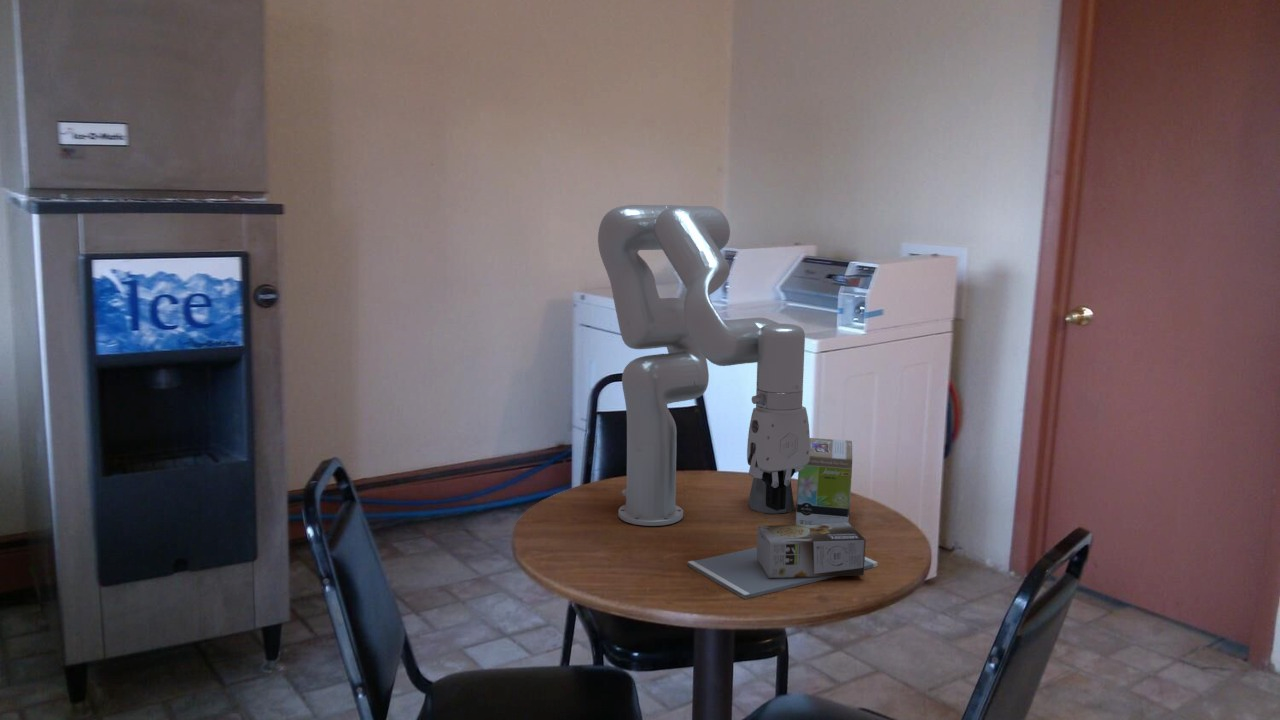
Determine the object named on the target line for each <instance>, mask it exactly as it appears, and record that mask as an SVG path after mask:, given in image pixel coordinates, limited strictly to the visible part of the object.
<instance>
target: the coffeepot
mask: <svg viewBox="0 0 1280 720" xmlns="http://www.w3.org/2000/svg"><path fill="white" fill-rule="evenodd" d="M760 470H762V469H760ZM752 478H753V479H752V482H751V489H750V493H749V498H748V503H747V505H748V506H749V509H751V510H753V511H754V512H756V513H761V514H766V513H767V515H769V514H770V515H780V514H779V513H783V514H787V513H789V511H790V510H791V511H793V509H795V504H794V496H793V488H792V480H791V479H790V484H789V485H788V486H786V502H785V509H783V510H781V509H780V510H778V511H776V510H774V509H771V508H769V507H767V506H766V484H764V483H763V481H762V479H760V478H754V477H752ZM791 511H790V512H791ZM786 512H787V513H786Z"/></svg>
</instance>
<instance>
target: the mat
mask: <svg viewBox="0 0 1280 720" xmlns="http://www.w3.org/2000/svg"><path fill="white" fill-rule="evenodd" d="M878 564H879V563H878V561H875V560H873V559H871V558H868V557H866V556H865V562H864V571H865V570H869V569H872V568H877V567H878ZM687 567H689V568H691V569H693V570H695V571H696V572H697V573H699V574H701V575H703V576H704V577H706V578H708V579H710V580H711V581H713V582H714V583H716V584H718V585H719V586H721V587H723V588H725V589H727V590H728V591H730V592H731V593H733V594H736V595H737V596H738V597H740V598H742V599H743V600H748V599H751V598H755V597H759V596H763V595H767V594H771V593H775V592H780V591H784V590H787V589H791V588H792V589H793V588H796V587H799V586H805V585H808V584H812V583H816V582H819V581H824V580H829V579H831V578H835V577H838V576H821V577H790V578H768V576H767V574H766V573H765V571H764V570H763V568H762V566H761V565H760V563H759V562H758V560H757V546H756V547H753V548H748V549H742V550H739V551H733V552H730V553H725V554H720V555H715V556H712V557H711V556H710V557H706V558H700V559H697V560H689V561H687Z"/></svg>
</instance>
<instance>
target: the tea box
mask: <svg viewBox="0 0 1280 720" xmlns="http://www.w3.org/2000/svg"><path fill="white" fill-rule="evenodd" d="M797 473H798V474H797V492H796V505H795V506H796V507H795V508H796V512H795V525H804V524H835V523H849V521H850V520H849V518H850V517H849V516H850V505H851V504H850V503H851V493H852V491H851V490H852V478H853V477H852V475H853V442H852V440H845V439H834V438H833V439H831V438H817V437H810V459H809V463H808V464H807V465H805V466H804V468H803V470H801V471H798V472H797Z"/></svg>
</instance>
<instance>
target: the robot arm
mask: <svg viewBox="0 0 1280 720" xmlns="http://www.w3.org/2000/svg"><path fill="white" fill-rule="evenodd" d="M730 236H731V227H730V223H729V221H728V219H727V217H726V216H725V214H724V213H723V212H722V211H721V210H720V209H718V208H717V207H714V206H708V205H702V206H701V205H694V206H692V205H690V206H688V205H678V204H677V205H673V204H671V205H670V204H656V205H655V204H631V205H630V204H629V205H622V206H618V207H617V206H616V207H615V208H612V209H611V210H609V211H608V212H606V214H604V216H603V217H602V219H601V221H600V224H599V227H598V233H597V244H598V245H597V246H598V252H599V254H600V258H601V260H602V263H603V266H604V269H605V271H606V274H607V277H608V279H609V282H610V288H611V292H612V293H611V294H612V298H613V303H614V308H615V313H616V318H617V324H618V328H619V332H620V335H621V338H622V341H623V343H624V345H626V347H628V348H630V349H633V350H648V349H649V350H650V349H660V348H666V349H667V353H658V354H648V355H643V356H640V357H638V358H634V359H632V360H631V361H629V363H627V365H626V366H625V367H624V370H623V371H622V376H621V383H622V385H621V386H622V390H623V391H622V392H623V396H624V402H625V411H626V488H623V489H622V490H621V495H622V496H624V497H625V504H623V505H621V506H620V507H619V508H618V513H617V514H618V517H619V518H620V520H622V521H623V522H625V523H628V524H632V525H636V526H644V527H659V526H660V527H661V526H669V525H672V524H675V523H678V522H680V521H681V520H683V517H684V510H683V508H682V507H680V506H679V505H677V504H676V495H677V494H676V491H677V490H676V489H677V488H676V487H677V483H676V482H677V443H678V442H677V425H676V421H675V419H674V417H673V415H672V413H671V412H670V409H669V408H668V405H669V404H673V403H679V402H680V403H681V402H685V401H692V400H695V399H698V398H700V397H702V395H704V393H705V392H706V391H707V388H708V386H709V378H710V375H709V368H708V367H709V366H708V362H707V361H709V362H710V363H712V364H713V365H716V366H719V367H728V366H729V367H730V366H734V365H745V364H754V363H756V364H757V365H756V393H755V395H752V396H751V403H752V404H753V405H755V407H753V409H752V413H751V415H750V416H751V417H750V422H749V427H748V435H747V436H748V437H747V447H746V460H747V465H749V471H748V476H749V477H751V478H753V477H754V478H760V479H762V481H763V483H764V484H766V506H767V507H769V508H771V509H774V510H776V511H778V510H780V509H781V510H783V509H785V502H786V486H788V485H789V484H790V479H791V478H792V477H793V476H794V475H795V474H796V473H798V471H801V470H803V468H804V466H805V465H807V464H808V463H809V459H810V438H811V437H810V422H809V417H808V411H807V408H806V407H805V406H803V401H804V400H803V396H804V395H803V394H804V370H805V368H804V367H805V366H804V365H805V346H806V343H805V342H806V336H805V335H806V334H805V333H806V332H805V330H804V329H803V328H802V327H801V326H800V325H795V324H791V323H779V322H776V321H774V320H771V319H769V318H766V317H751V318H750V317H749V318H737V319H725V320H723V318H722V317H721V316H720V314H719V313H718V311H717V310H716V308H715V306H714V304H713V303H712V300H711V297H710V296H711V294H712V295H713V293H714V292H716V291H718V290H719V289H720V288H721V287H722V286H723V285H724V284H725V282H726V281H727V280H728V278H729V276H730V273H731V268H730V264H729V262H728V261H727V259H726V257H725V256H724V255H723V253H722V252H721V250H723V249H724V248H725V247H726V245H727V244H728V243H729V240H730ZM654 250H655V251H658V250H661V251H662V252H663V253H664V255H665V256H666V258H667V260H668V261H669V263H670V264H671V265H672V267H673V270H674V271H675V272H676V274H677V275H678V277H679V279H680V280H681V282H682V284H683V285H684V287H685V289H686V293H685V297H684V299H682V298H681V297H680V298H679V297H663V298H662V297H660V296H659V292H658V289H657V283H656V279H655V276H654V273H653V271H652V269H651V267H650V266H649V265H648V263H647V262H646V261H645V260H644V258H643V257H642V256H641V255H640V254H639V251H654ZM760 469H762V470H760Z"/></svg>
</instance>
